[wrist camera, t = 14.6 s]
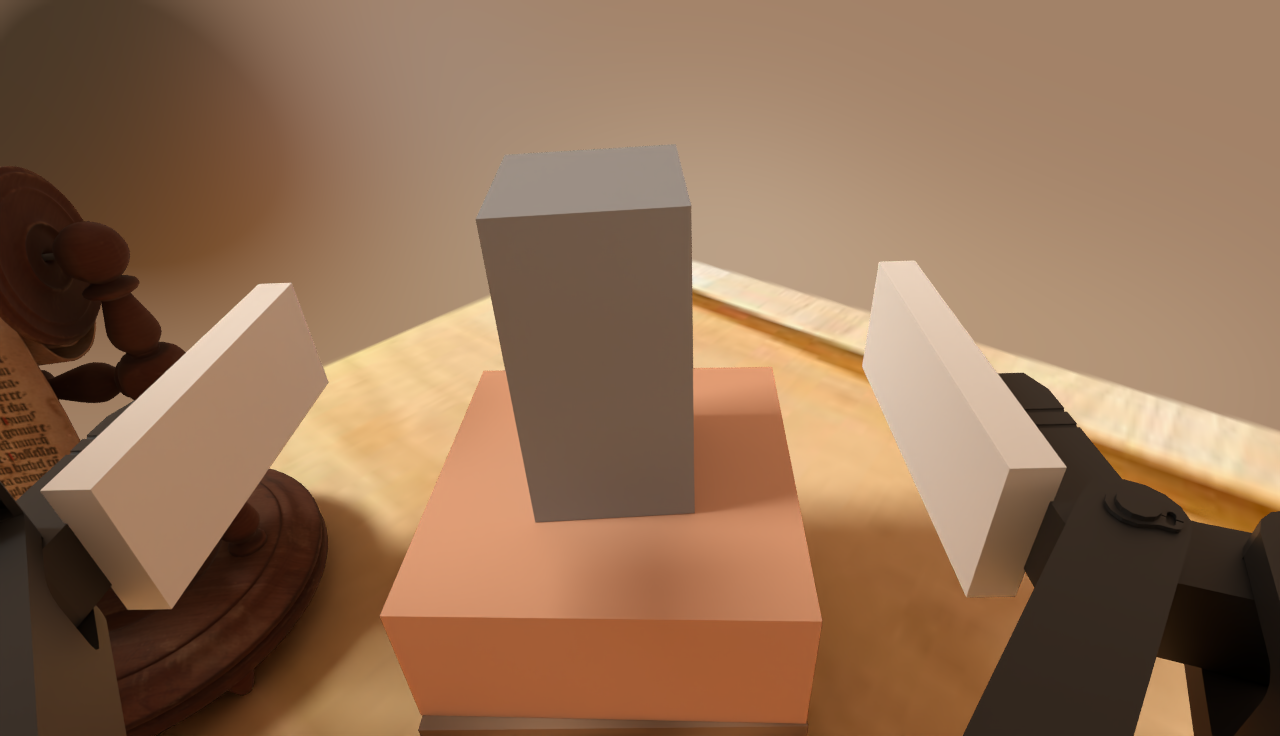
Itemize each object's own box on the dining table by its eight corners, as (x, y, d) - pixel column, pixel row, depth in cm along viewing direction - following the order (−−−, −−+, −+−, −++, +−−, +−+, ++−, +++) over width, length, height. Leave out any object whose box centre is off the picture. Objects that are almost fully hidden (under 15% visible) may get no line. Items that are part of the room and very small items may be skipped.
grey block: (535, 522, 21) (475, 219, 16) (548, 423, 26) (504, 154, 20) (694, 513, 21) (691, 206, 16) (682, 415, 26) (675, 144, 20)
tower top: (420, 715, 22) (379, 616, 19) (502, 460, 32) (483, 370, 29) (806, 723, 21) (822, 621, 18) (765, 459, 31) (772, 367, 28)
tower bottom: (450, 806, 24) (418, 730, 21) (510, 543, 34) (493, 467, 31) (795, 804, 24) (808, 726, 21) (753, 537, 33) (757, 460, 31)
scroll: (-141, 835, 24) (-880, 352, 13) (67, 527, 36) (-218, 140, 25) (302, 740, 26) (2, 252, 15) (357, 478, 38) (216, 102, 27)
